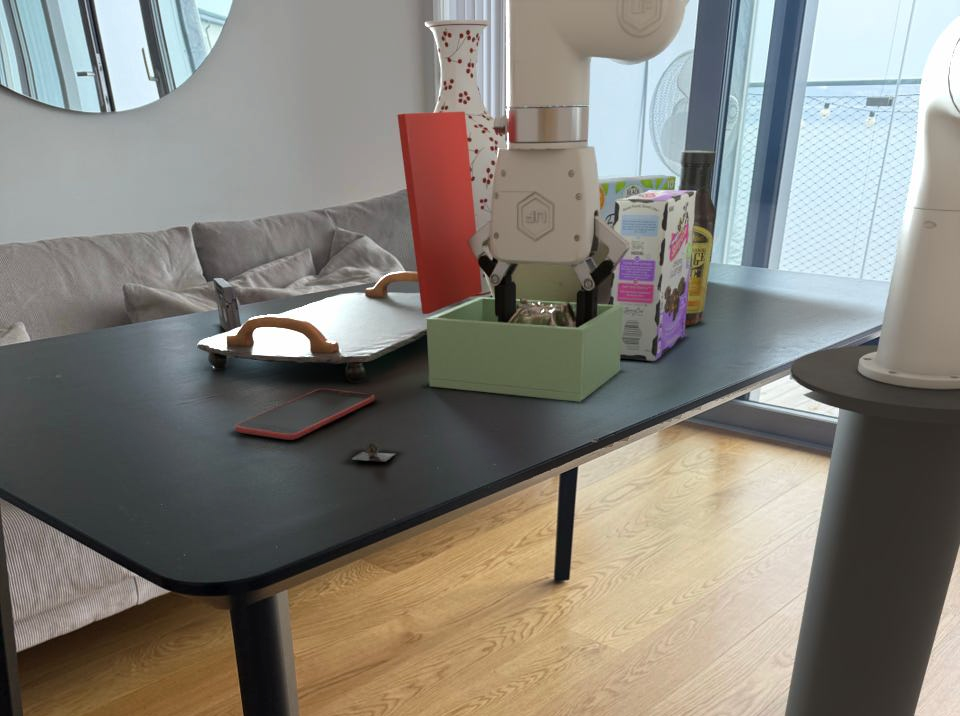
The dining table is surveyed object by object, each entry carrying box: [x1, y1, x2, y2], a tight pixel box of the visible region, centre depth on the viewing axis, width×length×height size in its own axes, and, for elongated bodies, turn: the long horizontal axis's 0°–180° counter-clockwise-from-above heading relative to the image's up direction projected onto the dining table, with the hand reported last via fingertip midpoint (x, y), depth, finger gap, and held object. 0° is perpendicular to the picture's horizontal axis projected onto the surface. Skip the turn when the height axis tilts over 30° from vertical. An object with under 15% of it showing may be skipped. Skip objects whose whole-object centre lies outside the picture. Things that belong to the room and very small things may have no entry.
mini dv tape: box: [212, 277, 242, 332], centre depth 120 cm, size 8×2×6 cm, turn 23°
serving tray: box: [196, 270, 473, 384], centre depth 110 cm, size 39×23×6 cm, turn 156°
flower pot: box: [484, 226, 614, 305], centre depth 111 cm, size 18×18×12 cm
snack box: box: [598, 174, 677, 226], centre depth 144 cm, size 21×6×15 cm, turn 132°
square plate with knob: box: [350, 442, 396, 462], centre depth 75 cm, size 3×3×1 cm
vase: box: [424, 19, 507, 299], centre depth 131 cm, size 16×16×35 cm
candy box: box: [610, 189, 696, 362], centre depth 103 cm, size 14×6×16 cm, turn 155°
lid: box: [396, 112, 482, 314], centre depth 91 cm, size 17×13×1 cm
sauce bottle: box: [677, 150, 717, 327], centre depth 114 cm, size 6×6×20 cm
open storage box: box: [426, 297, 623, 403], centre depth 94 cm, size 17×13×7 cm
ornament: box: [508, 298, 576, 327], centre depth 92 cm, size 8×7×4 cm
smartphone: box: [234, 388, 375, 441], centre depth 86 cm, size 7×1×14 cm
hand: (545, 326), depth 93 cm, fingers closed on ornament, 7 cm apart
